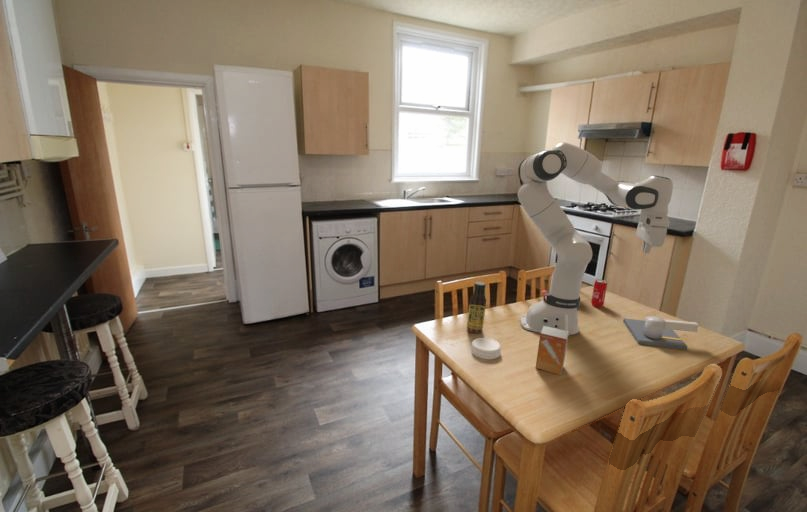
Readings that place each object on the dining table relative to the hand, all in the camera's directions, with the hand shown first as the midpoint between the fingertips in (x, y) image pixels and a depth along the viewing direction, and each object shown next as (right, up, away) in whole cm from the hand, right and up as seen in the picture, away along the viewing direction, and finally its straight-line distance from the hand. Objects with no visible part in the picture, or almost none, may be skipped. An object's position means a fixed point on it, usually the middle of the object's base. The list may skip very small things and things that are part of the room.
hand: (645, 252), depth 153 cm
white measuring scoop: (+4, -32, -8) cm, 33 cm away
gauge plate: (+2, -33, -2) cm, 33 cm away
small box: (-48, -39, -26) cm, 67 cm away
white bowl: (-68, -36, -17) cm, 79 cm away
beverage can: (-6, -25, +26) cm, 36 cm away
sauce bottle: (-69, -31, -1) cm, 75 cm away
